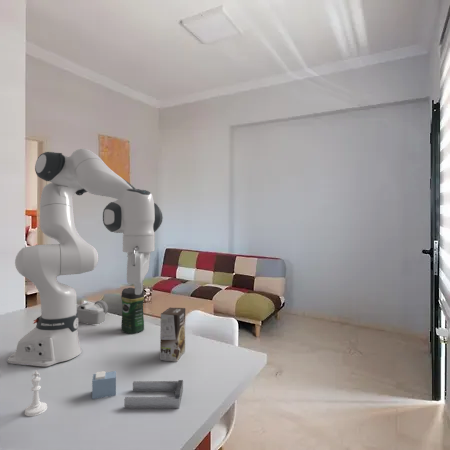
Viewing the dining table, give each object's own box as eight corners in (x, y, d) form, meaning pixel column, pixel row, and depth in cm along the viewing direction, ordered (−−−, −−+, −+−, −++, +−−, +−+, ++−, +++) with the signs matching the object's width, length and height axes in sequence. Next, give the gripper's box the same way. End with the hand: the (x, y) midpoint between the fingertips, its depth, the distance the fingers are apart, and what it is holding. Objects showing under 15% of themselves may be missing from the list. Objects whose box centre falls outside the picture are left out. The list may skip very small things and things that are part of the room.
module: (92, 399, 85) (92, 378, 85) (93, 391, 89) (93, 371, 89) (115, 395, 87) (115, 375, 87) (116, 388, 91) (115, 368, 91)
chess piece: (31, 405, 82) (30, 366, 82) (50, 404, 83) (50, 366, 83) (20, 416, 78) (20, 376, 77) (41, 416, 78) (41, 375, 78)
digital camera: (115, 326, 153) (120, 307, 152) (89, 334, 141) (94, 313, 140) (93, 312, 161) (98, 293, 160) (68, 317, 149) (72, 298, 148)
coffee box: (177, 362, 108) (177, 314, 107) (159, 360, 109) (159, 313, 109) (186, 351, 117) (186, 307, 116) (169, 349, 118) (169, 306, 118)
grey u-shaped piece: (124, 408, 81) (124, 396, 81) (133, 389, 90) (133, 378, 90) (179, 408, 81) (179, 395, 81) (183, 389, 90) (183, 378, 90)
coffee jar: (147, 330, 138) (147, 288, 137) (132, 336, 131) (132, 291, 131) (133, 326, 143) (133, 285, 143) (118, 331, 137) (118, 288, 137)
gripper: (146, 248, 81) (146, 302, 81) (153, 242, 101) (152, 286, 102) (120, 248, 80) (120, 303, 80) (132, 242, 100) (132, 286, 101)
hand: (138, 293), depth 91 cm, fingers closed
